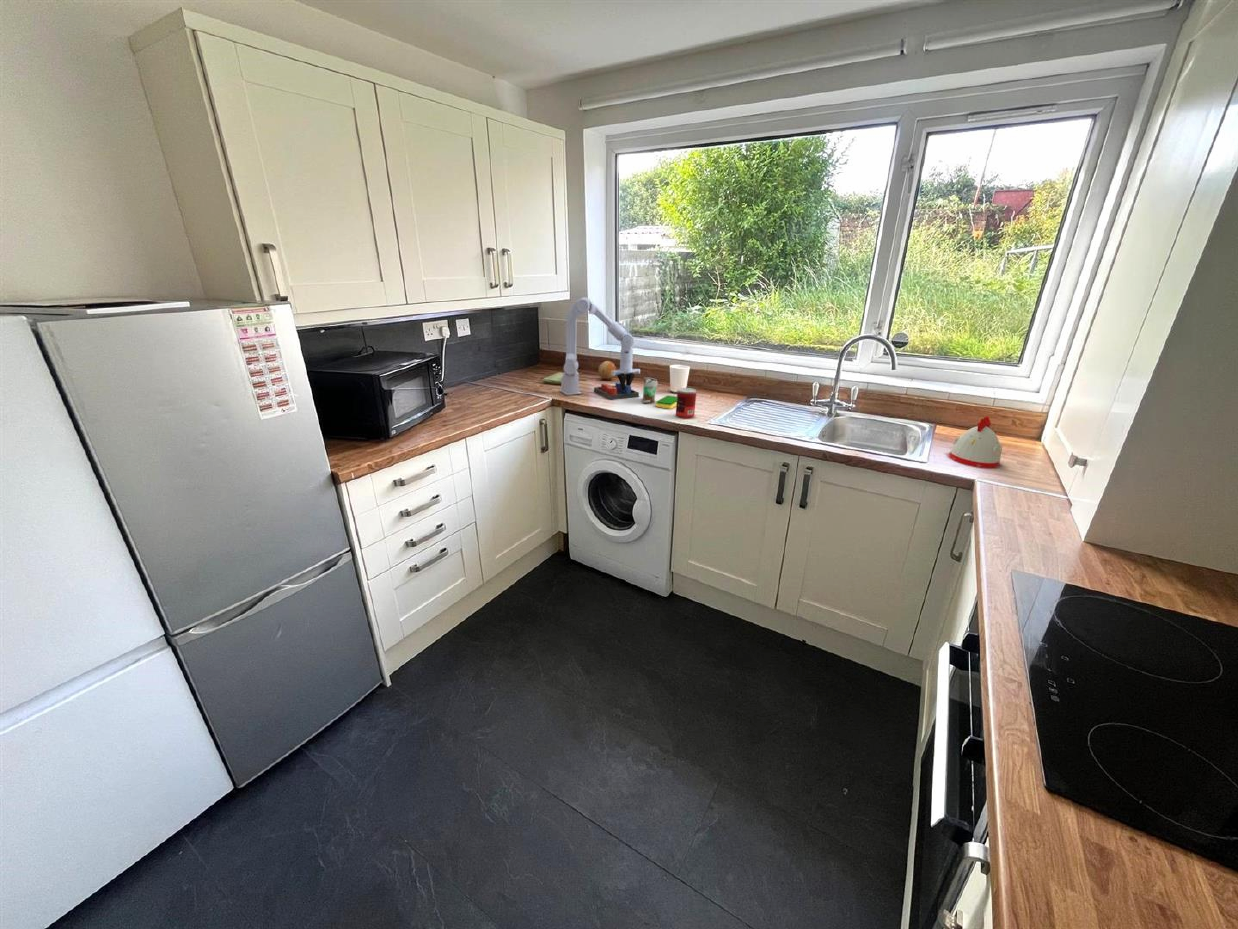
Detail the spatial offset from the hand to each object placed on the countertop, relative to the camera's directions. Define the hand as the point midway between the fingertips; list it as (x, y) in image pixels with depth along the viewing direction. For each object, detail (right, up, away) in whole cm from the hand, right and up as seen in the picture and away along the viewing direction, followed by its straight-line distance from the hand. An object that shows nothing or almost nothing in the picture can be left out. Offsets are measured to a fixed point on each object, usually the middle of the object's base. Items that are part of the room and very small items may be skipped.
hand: (625, 389), depth 237 cm
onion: (-9, +10, +32) cm, 35 cm away
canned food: (+24, -16, -30) cm, 42 cm away
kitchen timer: (+116, -35, -70) cm, 140 cm away
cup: (+26, 0, +10) cm, 28 cm away
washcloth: (-33, +7, +24) cm, 42 cm away
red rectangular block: (-8, -2, -1) cm, 8 cm away
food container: (+11, -7, -9) cm, 16 cm away
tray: (-4, -2, +2) cm, 5 cm away
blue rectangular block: (-1, 0, +3) cm, 3 cm away
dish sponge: (+19, -9, -14) cm, 25 cm away
